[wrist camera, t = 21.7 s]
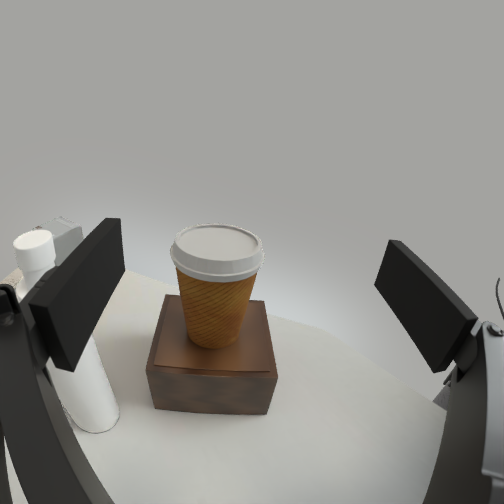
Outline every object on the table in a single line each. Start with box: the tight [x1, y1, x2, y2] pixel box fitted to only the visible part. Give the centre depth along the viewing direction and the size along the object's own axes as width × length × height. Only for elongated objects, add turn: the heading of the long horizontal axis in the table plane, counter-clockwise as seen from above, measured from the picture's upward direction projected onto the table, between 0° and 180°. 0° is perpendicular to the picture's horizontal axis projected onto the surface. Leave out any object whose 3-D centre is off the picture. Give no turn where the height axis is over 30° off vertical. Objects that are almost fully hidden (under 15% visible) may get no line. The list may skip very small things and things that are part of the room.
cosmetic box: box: [32, 217, 84, 266], centre depth 40 cm, size 8×7×16 cm
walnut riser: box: [146, 294, 278, 415], centre depth 35 cm, size 14×14×8 cm
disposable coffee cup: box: [170, 224, 265, 349], centre depth 31 cm, size 10×10×12 cm
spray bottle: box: [13, 230, 119, 433], centre depth 22 cm, size 7×7×25 cm
